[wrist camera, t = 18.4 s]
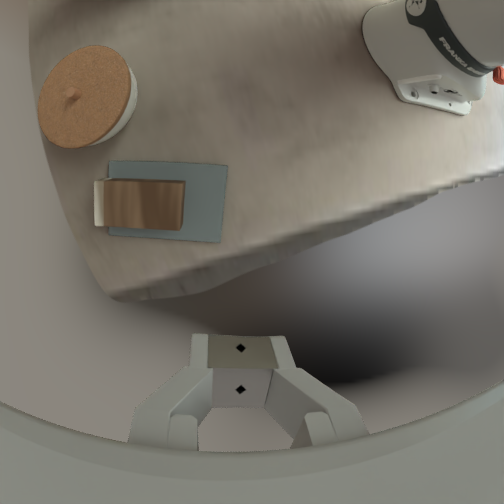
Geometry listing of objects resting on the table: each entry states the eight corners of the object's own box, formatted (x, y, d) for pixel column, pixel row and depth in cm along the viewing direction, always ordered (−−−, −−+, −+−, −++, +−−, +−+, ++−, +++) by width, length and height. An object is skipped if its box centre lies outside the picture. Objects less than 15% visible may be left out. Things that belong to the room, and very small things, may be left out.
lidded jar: (139, 51, 24) (113, 22, 15) (158, 128, 28) (134, 120, 19) (64, 87, 24) (23, 74, 15) (80, 160, 28) (38, 167, 19)
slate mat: (227, 165, 31) (227, 166, 30) (220, 240, 34) (220, 242, 33) (111, 160, 29) (109, 161, 28) (110, 233, 32) (108, 235, 31)
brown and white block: (182, 183, 27) (94, 181, 26) (179, 230, 29) (94, 225, 27) (185, 180, 30) (104, 178, 28) (183, 223, 32) (104, 219, 30)
